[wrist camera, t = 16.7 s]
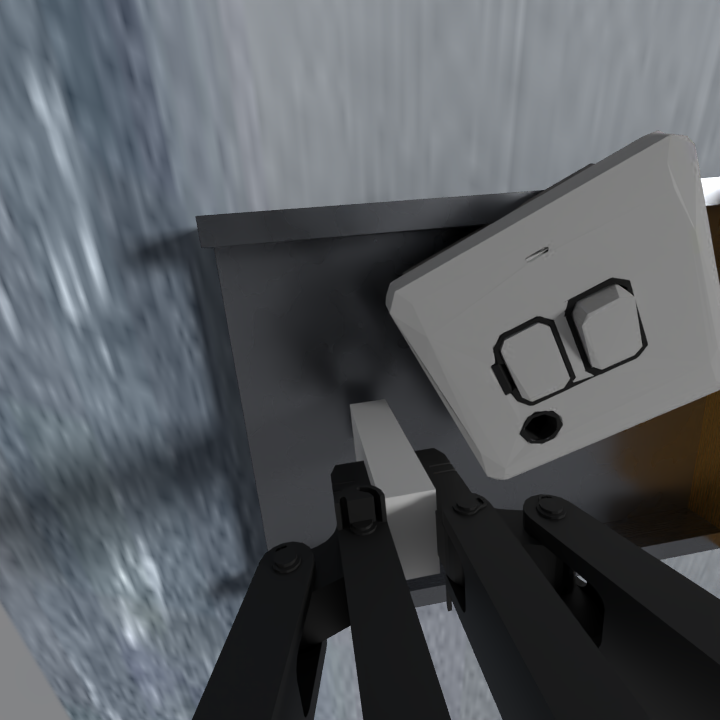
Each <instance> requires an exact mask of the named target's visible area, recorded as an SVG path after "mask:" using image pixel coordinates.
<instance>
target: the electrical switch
mask: <svg viewBox="0 0 720 720" xmlns="http://www.w3.org/2000/svg"><path fill="white" fill-rule="evenodd" d="M386 306H387V308H388V311H389V313H390V315H391V317H392V318H393V320H394V322H395V323H396V325H397V327H398V328H399V330H400V332H401V333H402V335H403V337H404V338H405V340H406V342H407V343H408V345H409V347H410V348H411V350H412V352H413V353H414V355H415V357H416V358H417V360H418V362H419V363H420V365H421V367H422V368H423V370H424V372H425V373H426V375H427V377H428V378H429V380H430V382H431V383H432V385H433V387H434V388H435V390H436V392H437V393H438V395H439V397H440V398H441V400H442V402H443V403H444V405H445V407H446V408H447V410H448V412H449V413H450V415H451V416H452V418H453V420H454V421H455V423H456V425H457V426H458V428H459V430H460V431H461V433H462V435H463V436H464V438H465V440H466V441H467V443H468V445H469V446H470V448H471V450H472V451H473V453H474V455H475V456H476V458H477V460H478V461H479V463H480V465H481V466H482V468H483V470H484V471H485V473H486V475H487V476H488V477H491V478H494V479H497V480H505V479H509V478H512V477H514V476H516V475H519V474H521V473H524V472H526V471H528V470H531V469H533V468H535V467H538V466H540V465H543V464H545V463H547V462H550V461H552V460H554V459H557V458H559V457H562V456H564V455H566V454H569V453H571V452H573V451H576V450H578V449H581V448H583V447H585V446H588V445H590V444H592V443H595V442H597V441H600V440H602V439H604V438H607V437H609V436H611V435H614V434H616V433H619V432H621V431H623V430H626V429H628V428H630V427H633V426H635V425H638V424H640V423H642V422H645V421H647V420H650V419H652V418H654V417H657V416H659V415H661V414H664V413H666V412H669V411H671V410H673V409H676V408H678V407H680V406H683V405H685V404H688V403H690V402H692V401H695V400H697V399H699V398H702V397H704V396H707V395H709V394H711V393H714V392H716V391H718V390H720V284H719V279H718V273H717V267H716V261H715V256H714V250H713V244H712V238H711V233H710V227H709V221H708V215H707V210H706V204H705V198H704V192H703V187H702V181H701V175H700V170H699V164H698V158H697V152H696V147H695V144H694V143H693V142H692V140H691V139H690V138H689V137H688V136H683V135H675V134H666V133H663V132H660V131H655V132H653V133H650V134H648V135H645V136H643V137H641V138H639V139H638V140H636V141H634V142H632V143H631V144H629V145H627V146H626V147H624V148H622V149H620V150H619V151H617V152H615V153H613V154H612V155H610V156H608V157H606V158H605V159H603V160H601V161H600V162H598V163H596V164H589V165H587V166H585V167H584V168H582V169H580V170H578V171H577V172H575V173H573V174H572V175H570V176H568V177H566V178H565V179H563V180H561V181H560V182H558V183H556V184H554V185H553V186H551V187H549V188H547V189H546V190H544V191H542V192H541V193H539V194H537V195H535V196H534V197H532V198H530V199H529V200H527V201H526V202H525V203H523V204H522V205H520V206H519V207H518V208H516V209H515V210H513V211H512V212H511V213H509V214H508V215H506V216H504V217H503V218H501V219H499V220H498V221H496V222H494V223H492V224H485V225H484V226H482V227H480V228H479V229H477V230H475V231H473V232H472V233H470V234H468V235H467V236H465V237H463V238H461V239H460V240H458V241H456V242H454V243H453V244H451V245H449V246H448V247H446V248H444V249H442V250H441V251H439V252H437V253H435V254H434V255H432V256H430V257H429V258H427V259H425V260H423V261H422V262H420V263H418V264H417V265H415V266H413V267H411V268H410V269H408V270H406V271H404V272H403V276H401V277H399V278H398V279H396V280H394V281H393V282H391V283H390V285H389V288H388V291H387V295H386Z"/></svg>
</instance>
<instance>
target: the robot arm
mask: <svg viewBox="0 0 720 720" xmlns="http://www.w3.org/2000/svg"><path fill="white" fill-rule="evenodd" d="M350 411H351V420H352V428H353V437H354V446H355V454H356V462H351V463H345V464H339V465H335V467H334V469H333V470H332V472H331V482H332V490H333V497H334V507H335V514H336V521H337V526H336V529H335V532H334V533H333V535H332V536H331V537H330V538H329V539H328V540H327V541H325V542H324V543H322V544H320V545H319V546H317V547H314V548H312V549H311V548H310V547H309V546H307V545H306V544H304V543H301V542H294V541H293V542H286V543H282V544H280V545H277V546H275V547H273V548H272V549H271V550H269V551H268V552H267V553H266V554H265V555H264V556H263V558H262V559H261V561H260V563H259V565H258V567H257V570H256V572H255V574H254V577H253V579H252V581H251V584H250V586H249V588H248V591H247V593H246V595H245V598H244V600H243V602H242V605H241V607H240V609H239V612H238V614H237V616H236V619H235V621H234V623H233V625H232V628H231V630H230V632H229V635H228V637H227V639H226V642H225V644H224V646H223V649H222V651H221V653H220V656H219V658H218V660H217V663H216V665H215V667H214V670H213V672H212V674H211V677H210V679H209V681H208V684H207V686H206V688H205V691H204V693H203V695H202V698H201V700H200V702H199V705H198V707H197V709H196V712H195V714H194V716H193V718H192V720H314V715H315V709H316V704H317V698H318V692H319V687H320V681H321V675H322V670H323V664H324V659H325V653H326V647H327V638H329V637H331V636H333V635H335V634H336V633H338V632H340V631H342V630H343V629H345V628H347V627H349V626H350V625H351V632H352V639H353V647H354V654H355V661H356V669H357V676H358V684H359V691H360V698H361V706H362V713H363V720H451V718H450V715H449V712H448V709H447V706H446V702H445V699H444V696H443V693H442V690H441V687H440V684H439V681H438V678H437V674H436V671H435V668H434V665H433V662H432V659H431V656H430V653H429V650H428V646H427V643H426V640H425V637H424V634H423V631H422V628H421V625H420V622H419V619H418V615H417V612H416V609H415V606H414V603H413V600H412V597H411V594H410V591H409V587H408V584H407V581H406V580H409V579H414V578H419V577H424V576H429V575H434V574H439V573H440V561H439V558H440V560H441V563H442V565H443V567H444V569H445V580H446V600H447V608H448V611H451V610H452V602H453V604H454V607H455V609H456V611H457V614H458V616H459V618H460V621H461V623H462V625H463V628H464V630H465V632H466V635H467V637H468V639H469V642H470V644H471V646H472V649H473V651H474V653H475V656H476V658H477V661H478V663H479V665H480V668H481V670H482V672H483V675H484V677H485V679H486V682H487V684H488V686H489V689H490V691H491V693H492V696H493V698H494V700H495V703H496V705H497V707H498V710H499V712H500V714H501V717H502V719H503V720H720V599H718V598H717V597H715V596H714V595H712V594H711V593H709V592H708V591H706V590H705V589H703V588H702V587H700V586H698V585H697V584H695V583H694V582H692V581H691V580H689V579H688V578H686V577H685V576H683V575H682V574H680V573H678V572H677V571H675V570H674V569H672V568H671V567H669V566H668V565H666V564H665V563H663V562H661V561H660V560H658V559H657V558H655V557H654V556H652V555H651V554H649V553H648V552H646V551H645V550H643V549H641V548H640V547H638V546H637V545H635V544H634V543H632V542H631V541H629V540H628V539H626V538H625V537H623V536H621V535H620V534H618V533H617V532H615V531H614V530H612V529H611V528H609V527H608V526H606V525H605V524H603V523H601V522H600V521H598V520H597V519H595V518H594V517H592V516H591V515H589V514H588V513H586V512H585V511H583V510H581V509H580V508H578V507H577V506H575V505H574V504H572V503H571V502H569V501H567V500H565V499H563V498H561V497H557V496H553V495H544V494H539V495H534V496H531V497H529V498H528V499H526V500H525V502H524V504H523V510H506V509H497V508H494V507H493V506H492V504H491V503H490V502H489V501H488V500H487V499H486V498H484V497H483V496H480V495H478V494H476V493H472V492H471V491H470V490H469V488H468V487H467V485H466V484H465V482H464V481H463V480H462V478H461V477H460V475H459V474H458V472H457V471H455V468H454V467H453V465H452V464H451V463H450V461H449V460H448V458H447V457H446V455H445V454H444V453H442V452H440V451H439V450H437V449H435V448H430V449H423V450H417V451H414V450H413V448H412V446H411V445H410V443H409V441H408V439H407V437H406V436H405V434H404V432H403V430H402V429H401V427H400V425H399V423H398V421H397V420H396V418H395V416H394V414H393V412H392V411H391V409H390V407H389V405H388V404H387V402H386V400H385V399H382V400H376V401H369V402H362V403H356V404H350ZM576 573H578V574H579V575H580V576H581V577H582V578H584V579H585V580H586V581H587V583H585V582H583V581H582V580H580V579H579V578H578V577H577V576H576Z"/></svg>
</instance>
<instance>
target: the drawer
mask: <svg viewBox="0 0 720 720" xmlns="http://www.w3.org/2000/svg"><path fill="white" fill-rule="evenodd" d="M701 181H702V187H703V192H704V198H705V204H706V210H707V215H708V221H709V227H710V233H711V238H712V244H713V250H714V256H715V261H716V267H717V273H718V279H719V284H720V177H716V178H702V179H701ZM542 191H544V190H541V191H527V192H514V193H500V194H487V195H473V196H460V197H446V198H433V199H419V200H406V201H392V202H379V203H365V204H352V205H338V206H325V207H311V208H298V209H284V210H271V211H257V212H244V213H231V214H217V215H204V216H196V222H197V227H198V232H199V238H200V243H201V248H214V252H215V257H216V263H217V269H218V274H219V280H220V285H221V291H222V297H223V302H224V308H225V313H226V319H227V325H228V330H229V336H230V341H231V347H232V353H233V358H234V364H235V369H236V375H237V381H238V386H239V392H240V397H241V403H242V409H243V414H244V420H245V425H246V431H247V437H248V442H249V448H250V453H251V459H252V465H253V470H254V476H255V481H256V487H257V493H258V498H259V504H260V509H261V515H262V521H263V526H264V532H265V537H266V543H267V549H268V551H269V550H271V549H272V548H273V547H275V546H277V545H280V544H282V543H286V542H293V541H294V542H301V543H304V544H306V545H307V546H309V547H310V548H311V549H312V548H314V547H317V546H319V545H320V544H322V543H324V542H325V541H327V540H328V539H329V538H330V537H331V536H332V535H333V533H334V532H335V529H336V526H337V521H336V514H335V507H334V497H333V490H332V482H331V472H332V470H333V469H334V467H335V465H339V464H345V463H351V462H356V454H355V446H354V437H353V428H352V420H351V411H350V404H356V403H362V402H369V401H376V400H382V399H385V400H386V402H387V404H388V405H389V407H390V409H391V411H392V412H393V414H394V416H395V418H396V420H397V421H398V423H399V425H400V427H401V429H402V430H403V432H404V434H405V436H406V437H407V439H408V441H409V443H410V445H411V446H412V448H413V450H414V451H417V450H423V449H430V448H435V449H437V450H439V451H440V452H442V453H444V454H445V455H446V457H447V458H448V460H449V461H450V463H451V464H452V465H453V467H454V468H455V471H457V472H458V474H459V475H460V477H461V478H462V480H463V481H464V482H465V484H466V485H467V487H468V488H469V490H470V491H471V492H472V493H476V494H478V495H480V496H483V497H484V498H486V499H487V500H488V501H489V502H490V503H491V504H492V506H493V507H494V508H497V509H506V510H523V504H524V502H525V500H526V499H528V498H529V497H531V496H534V495H539V494H544V495H553V496H557V497H561V498H563V499H565V500H567V501H569V502H571V503H572V504H574V505H575V506H577V507H578V508H580V509H581V510H583V511H585V512H586V513H588V514H589V515H591V516H592V517H594V518H595V519H597V520H598V521H600V522H601V523H603V524H605V525H606V526H608V527H609V528H611V529H612V530H614V531H615V532H617V533H618V534H620V535H621V536H623V537H625V538H626V539H628V540H629V541H631V542H632V543H634V544H635V545H637V546H638V547H640V548H641V549H643V550H645V551H646V552H648V553H649V554H651V555H652V556H654V557H655V558H657V559H658V560H661V559H667V558H672V557H677V556H682V555H687V554H692V553H697V552H702V551H708V550H713V549H718V548H720V390H718V391H716V392H714V393H711V394H709V395H707V396H704V397H702V398H699V399H697V400H695V401H692V402H690V403H688V404H685V405H683V406H680V407H678V408H676V409H673V410H671V411H669V412H666V413H664V414H661V415H659V416H657V417H654V418H652V419H650V420H647V421H645V422H642V423H640V424H638V425H635V426H633V427H630V428H628V429H626V430H623V431H621V432H619V433H616V434H614V435H611V436H609V437H607V438H604V439H602V440H600V441H597V442H595V443H592V444H590V445H588V446H585V447H583V448H581V449H578V450H576V451H573V452H571V453H569V454H566V455H564V456H562V457H559V458H557V459H554V460H552V461H550V462H547V463H545V464H543V465H540V466H538V467H535V468H533V469H531V470H528V471H526V472H524V473H521V474H519V475H516V476H514V477H512V478H509V479H505V480H497V479H494V478H491V477H488V476H487V475H486V473H485V471H484V470H483V468H482V466H481V465H480V463H479V461H478V460H477V458H476V456H475V455H474V453H473V451H472V450H471V448H470V446H469V445H468V443H467V441H466V440H465V438H464V436H463V435H462V433H461V431H460V430H459V428H458V426H457V425H456V423H455V421H454V420H453V418H452V416H451V415H450V413H449V412H448V410H447V408H446V407H445V405H444V403H443V402H442V400H441V398H440V397H439V395H438V393H437V392H436V390H435V388H434V387H433V385H432V383H431V382H430V380H429V378H428V377H427V375H426V373H425V372H424V370H423V368H422V367H421V365H420V363H419V362H418V360H417V358H416V357H415V355H414V353H413V352H412V350H411V348H410V347H409V345H408V343H407V342H406V340H405V338H404V337H403V335H402V333H401V332H400V330H399V328H398V327H397V325H396V323H395V322H394V320H393V318H392V317H391V315H390V313H389V311H388V308H387V306H386V295H387V291H388V288H389V285H390V283H391V282H393V281H394V280H396V279H398V278H399V277H401V276H403V272H404V271H406V270H408V269H410V268H411V267H413V266H415V265H417V264H418V263H420V262H422V261H423V260H425V259H427V258H429V257H430V256H432V255H434V254H435V253H437V252H439V251H441V250H442V249H444V248H446V247H448V246H449V245H451V244H453V243H454V242H456V241H458V240H460V239H461V238H463V237H465V236H467V235H468V234H470V233H472V232H473V231H475V230H477V229H479V228H480V227H482V226H484V225H485V224H492V223H494V222H496V221H498V220H499V219H501V218H503V217H504V216H506V215H508V214H509V213H511V212H512V211H513V210H515V209H516V208H518V207H519V206H520V205H522V204H523V203H525V202H526V201H527V200H529V199H530V198H532V197H534V196H535V195H537V194H539V193H541V192H542ZM439 561H440V573H439V574H434V575H429V576H424V577H419V578H414V579H409V580H406V581H407V584H408V587H409V591H410V594H411V597H412V600H413V603H414V606H415V607H420V606H425V605H431V604H436V603H441V602H446V601H447V600H446V580H445V569H444V567H443V565H442V563H441V560H440V558H439ZM576 576H579V574H578V573H576Z"/></svg>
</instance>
